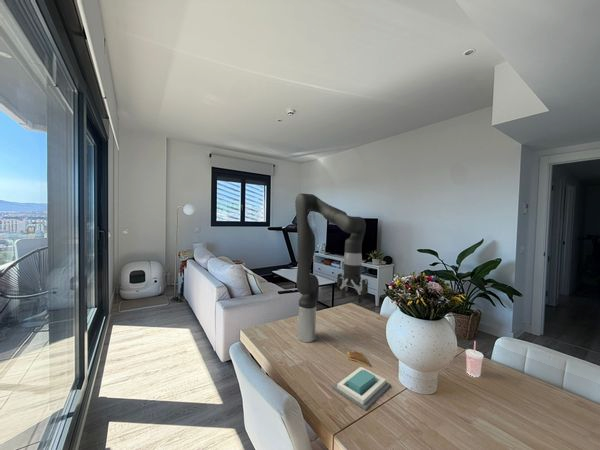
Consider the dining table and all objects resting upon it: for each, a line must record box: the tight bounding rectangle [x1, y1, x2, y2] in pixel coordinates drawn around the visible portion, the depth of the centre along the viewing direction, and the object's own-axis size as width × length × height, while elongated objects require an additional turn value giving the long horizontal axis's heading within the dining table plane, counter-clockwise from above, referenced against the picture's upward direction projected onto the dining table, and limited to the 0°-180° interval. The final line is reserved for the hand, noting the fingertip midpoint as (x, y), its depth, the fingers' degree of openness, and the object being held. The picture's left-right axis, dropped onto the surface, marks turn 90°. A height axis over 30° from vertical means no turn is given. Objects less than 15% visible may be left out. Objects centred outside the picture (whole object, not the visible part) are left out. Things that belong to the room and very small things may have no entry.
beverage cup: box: [465, 340, 484, 378], centre depth 103 cm, size 6×6×14 cm
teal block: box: [348, 370, 375, 395], centre depth 93 cm, size 10×5×3 cm, turn 130°
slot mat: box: [331, 366, 392, 411], centre depth 93 cm, size 14×18×2 cm
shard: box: [347, 350, 371, 367], centre depth 111 cm, size 11×8×2 cm
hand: (351, 300), depth 107 cm, fingers open, 8 cm apart
